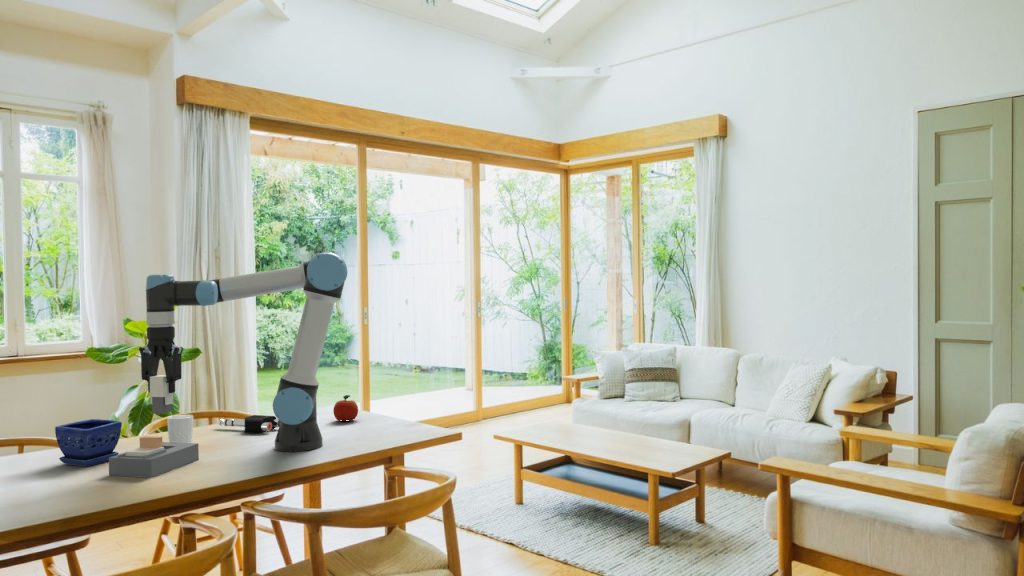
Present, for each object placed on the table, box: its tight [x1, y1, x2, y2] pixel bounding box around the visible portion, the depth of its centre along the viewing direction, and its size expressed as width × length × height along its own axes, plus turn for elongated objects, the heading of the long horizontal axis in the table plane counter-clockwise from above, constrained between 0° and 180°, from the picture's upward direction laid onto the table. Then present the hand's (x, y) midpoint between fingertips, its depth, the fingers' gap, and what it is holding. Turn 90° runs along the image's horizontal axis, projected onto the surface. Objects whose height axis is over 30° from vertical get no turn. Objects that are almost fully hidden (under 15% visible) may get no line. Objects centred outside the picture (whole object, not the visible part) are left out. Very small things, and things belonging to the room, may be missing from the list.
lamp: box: [216, 414, 280, 434], centre depth 256 cm, size 11×5×25 cm
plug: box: [149, 374, 172, 415], centre depth 207 cm, size 4×4×11 cm
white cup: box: [166, 414, 194, 443], centre depth 231 cm, size 8×8×10 cm
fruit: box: [333, 394, 359, 421], centre depth 271 cm, size 10×10×10 cm
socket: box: [108, 441, 200, 478], centre depth 204 cm, size 14×20×6 cm
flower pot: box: [54, 418, 123, 467], centre depth 211 cm, size 13×13×12 cm
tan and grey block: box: [124, 435, 164, 457], centre depth 200 cm, size 7×7×4 cm
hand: (161, 403), depth 207 cm, fingers closed on plug, 4 cm apart
